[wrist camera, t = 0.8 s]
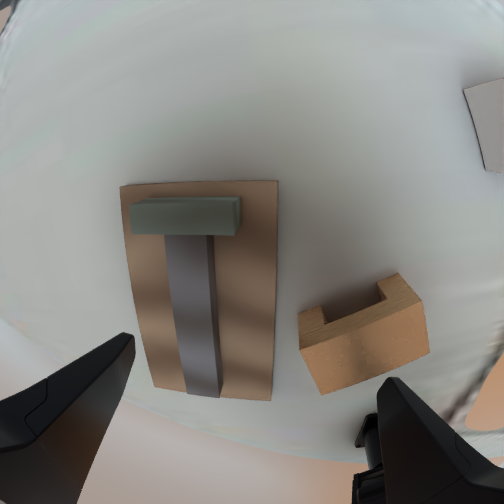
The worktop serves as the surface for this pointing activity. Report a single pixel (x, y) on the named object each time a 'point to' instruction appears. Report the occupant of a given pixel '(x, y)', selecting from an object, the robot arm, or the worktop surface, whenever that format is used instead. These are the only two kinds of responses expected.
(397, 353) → the block
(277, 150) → the worktop surface
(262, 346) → the rail board
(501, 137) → the milk carton
